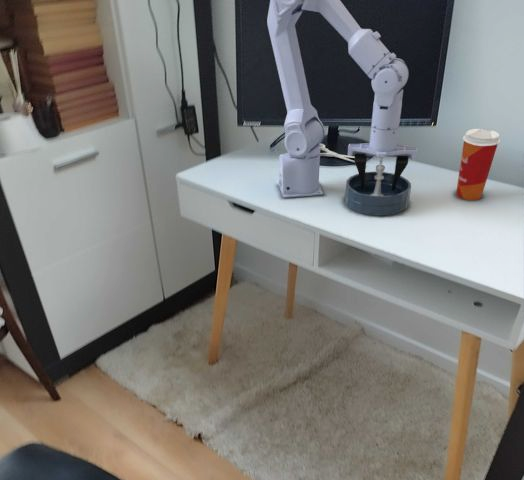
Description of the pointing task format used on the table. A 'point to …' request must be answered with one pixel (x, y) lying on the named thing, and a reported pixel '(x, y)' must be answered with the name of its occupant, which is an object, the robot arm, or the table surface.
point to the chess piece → (378, 179)
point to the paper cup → (476, 162)
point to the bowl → (377, 204)
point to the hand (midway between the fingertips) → (377, 188)
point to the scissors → (333, 153)
